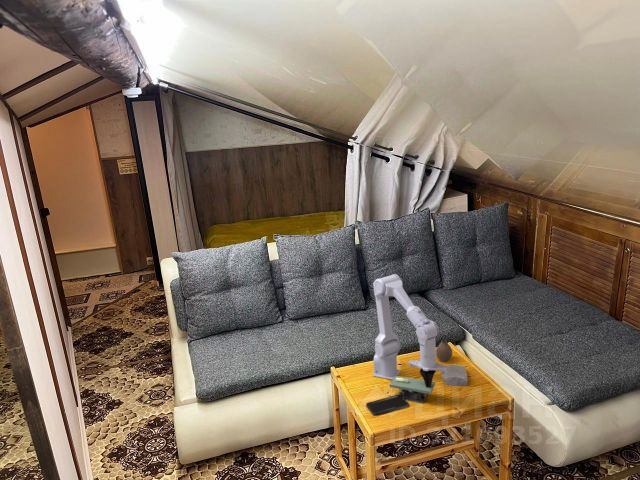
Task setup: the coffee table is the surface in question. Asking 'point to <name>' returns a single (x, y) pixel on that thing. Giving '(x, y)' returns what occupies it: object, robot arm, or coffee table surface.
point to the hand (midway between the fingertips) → (428, 386)
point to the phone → (386, 405)
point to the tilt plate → (411, 384)
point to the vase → (444, 352)
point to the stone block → (455, 376)
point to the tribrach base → (412, 396)
